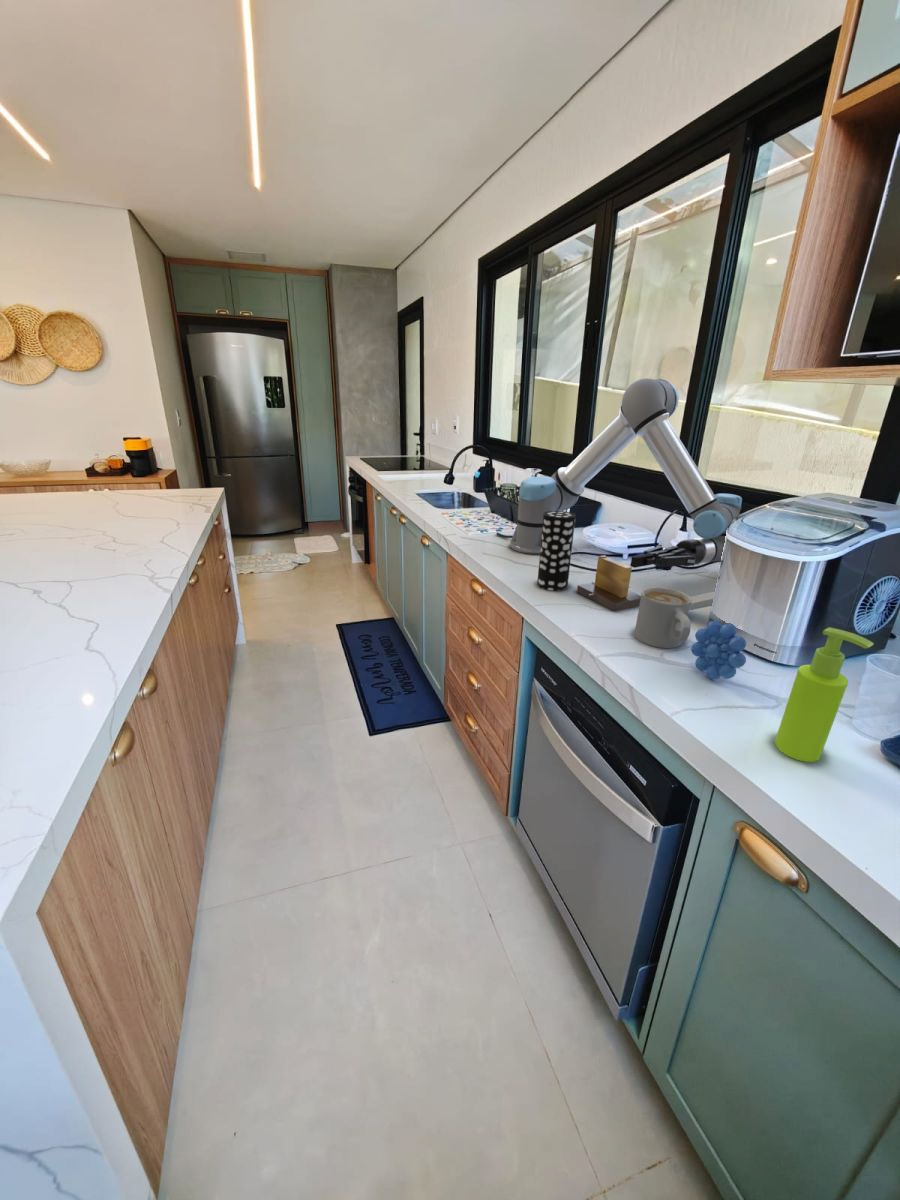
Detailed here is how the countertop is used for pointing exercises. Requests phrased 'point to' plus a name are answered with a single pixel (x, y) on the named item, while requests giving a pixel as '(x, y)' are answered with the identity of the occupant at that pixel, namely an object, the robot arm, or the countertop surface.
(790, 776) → the countertop surface
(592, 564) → the countertop surface
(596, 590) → the dark brown flat slab
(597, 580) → the golden brown rectangular block
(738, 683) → the countertop surface
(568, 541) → the white-spotted black cylinder
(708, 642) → the blue bumpy cluster
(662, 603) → the coffee mug
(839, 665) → the soap dispenser
